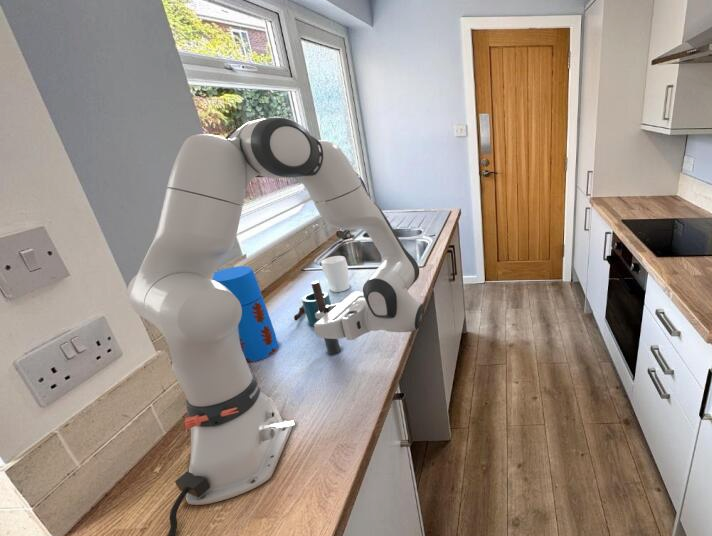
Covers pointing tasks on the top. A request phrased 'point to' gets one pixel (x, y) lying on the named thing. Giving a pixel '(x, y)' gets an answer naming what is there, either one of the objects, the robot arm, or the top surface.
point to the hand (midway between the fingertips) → (320, 311)
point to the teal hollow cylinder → (313, 306)
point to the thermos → (250, 312)
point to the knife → (301, 311)
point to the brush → (330, 343)
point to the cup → (336, 273)
